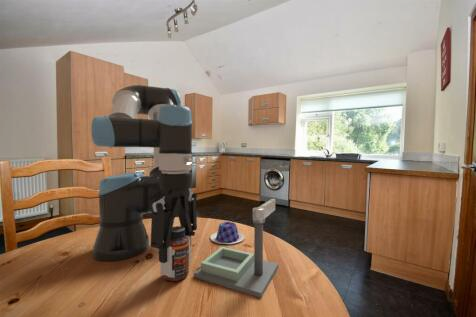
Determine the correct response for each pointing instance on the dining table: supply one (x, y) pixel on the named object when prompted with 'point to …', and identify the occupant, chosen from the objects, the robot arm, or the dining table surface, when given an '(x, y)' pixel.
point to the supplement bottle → (179, 254)
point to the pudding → (227, 234)
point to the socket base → (239, 267)
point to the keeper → (263, 211)
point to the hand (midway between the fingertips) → (176, 267)
